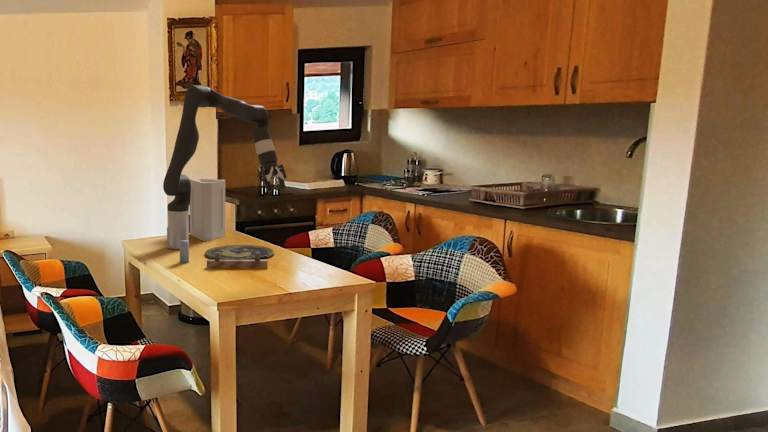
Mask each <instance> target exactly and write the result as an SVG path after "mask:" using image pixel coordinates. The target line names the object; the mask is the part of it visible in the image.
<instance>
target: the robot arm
mask: <svg viewBox="0 0 768 432" xmlns="http://www.w3.org/2000/svg"><path fill="white" fill-rule="evenodd" d="M182 105H183V108H182V112H181V119H180V123H179V127H178V132H177V135H176V137H175V138H176V139H175V143H174V147H173V151H172V155H171V157H170V158H171V159H170V162H169V166H168V168H167V171H166V173H165V176H164V179H163V184H162V189H163V192H164V194H165V195H167V196H170V197H173V196H174V199H173V200H172V201H170V202H169V203H167V227H166V248H167V249H172V250H180V241H181V240H188V241H189V242H190V198H191V183H190V180H189V179H190V177H188V175H186V174H183V173H182V172H183V170H184V168H185V166H186V165H187V164H188V162H189V161H190V160H191V159H192V157H193V156H194V155H195V153H196V151H197V149H198V144H199V140H200V134H199V130H198V126H197V123H196V119H197V113H198V109H199V108H213V109H214V108H215V109H219V110H220V111H222V112H223V113H225V114H227V115H230V116H232V117H236V118H239V119H240V120H242V121H244V122H246V123H255V125H256V127H255V128H253V130H252V131H251V136H252V139H253V142H254V147H255V152H256V156H257V159H258V163H259V167H256V171H257V175H258V178H259V182H260V183H264V185H265V190H266V191H267V192H268V193H269V192H272V191H273V188H272V187H273V186H272V183H271V177H273V178H275V179H277V181H278V184H279V188H280V190H281V191H283V190H285V189H286V188H287V187H286V182H285V179H287V173H286V170H285V167H284V165H283V164H278V163H277V162H278V161H279V158H278V156H277V152H276V148H275V145H274V143H273V140H272V137H271V133H270V129H269V128H270V125H269V124H270V123H269V122H270V121H269V118H270V117H269V113H268V111H267V109H266V108H265V106H263V105H256V104H255V105H254V104H253V105H252V104H247V102H246V101H244V100H240V99H238V98H237V99H236V98H233V97H230V96H226V95H223V94H222V93H219V92H217V91H216V90H214V89H212V88H211V87H208V86H204V85H190V86H188V88H187V89H186V91H185V93H184V100H183V104H182Z"/></svg>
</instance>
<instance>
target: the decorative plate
mask: <svg viewBox="0 0 768 432" xmlns="http://www.w3.org/2000/svg"><path fill="white" fill-rule="evenodd" d="M204 252H205V253H204V256H205V258H207V259H208V260H215V253H220V260H239V259H255V253H260V259H267V260H268V259H271V258H273V257H274V255H275V252H274V250H273V249H272V248H270V247H267V246H263V245H262V246H261V245H255V244H253V245H252V244H232V245H231V244H229V245H223V246H222V245H221V246H216V247H212V248H209V249H207V250H206V251H204Z"/></svg>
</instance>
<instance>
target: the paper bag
mask: <svg viewBox="0 0 768 432" xmlns="http://www.w3.org/2000/svg"><path fill="white" fill-rule="evenodd" d="M189 180H190V183H191V198H190V205H189V236H193V237H194V238H196V239H198V240H201V241H202V240H203V242H205V241H215V240H216V239H217V240H218V239H220V238H223V237H225V236H226V179H216V178H214V179H210V178H209V179H208V178H189Z"/></svg>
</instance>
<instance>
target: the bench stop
mask: <svg viewBox="0 0 768 432" xmlns="http://www.w3.org/2000/svg"><path fill="white" fill-rule="evenodd" d="M206 269H268V259H260V253H255V259H239V260H220V253H215V260H212V259H207V260H206Z"/></svg>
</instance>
